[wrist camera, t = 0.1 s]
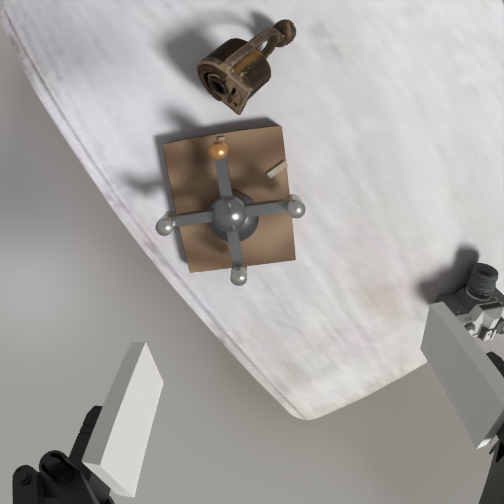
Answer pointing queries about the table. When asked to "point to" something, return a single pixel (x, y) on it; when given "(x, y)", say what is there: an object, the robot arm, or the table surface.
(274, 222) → the stand board
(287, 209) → the grey star handwheel
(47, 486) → the robot arm
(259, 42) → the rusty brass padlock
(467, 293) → the camera
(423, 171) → the table surface
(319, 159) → the table surface
